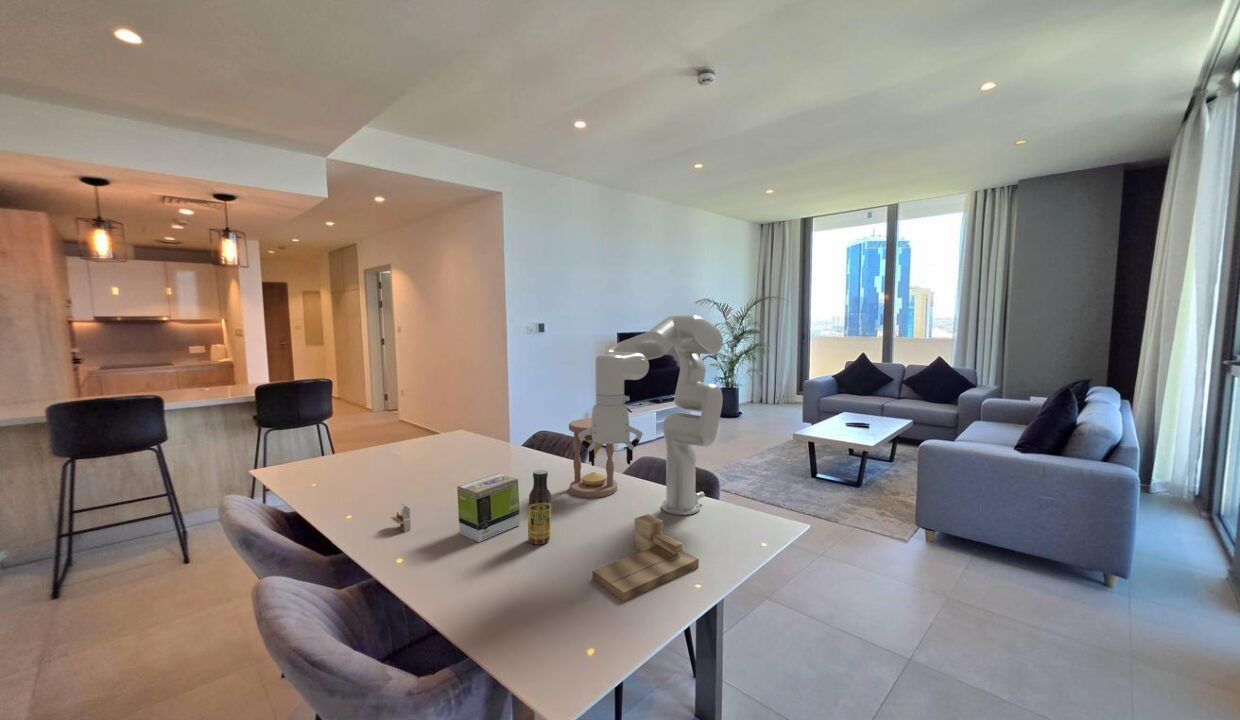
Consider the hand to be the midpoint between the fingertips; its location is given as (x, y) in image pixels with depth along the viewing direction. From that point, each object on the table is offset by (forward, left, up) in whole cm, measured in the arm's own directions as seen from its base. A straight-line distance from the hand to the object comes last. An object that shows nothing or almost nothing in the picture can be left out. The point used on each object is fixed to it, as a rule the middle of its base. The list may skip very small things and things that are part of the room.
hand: (610, 463), depth 128 cm
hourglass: (-23, -41, -24) cm, 53 cm away
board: (+1, +16, -23) cm, 28 cm away
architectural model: (+41, -49, -24) cm, 68 cm away
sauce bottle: (+13, -16, -24) cm, 32 cm away
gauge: (-8, +10, -24) cm, 27 cm away
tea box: (+21, -32, -24) cm, 45 cm away
